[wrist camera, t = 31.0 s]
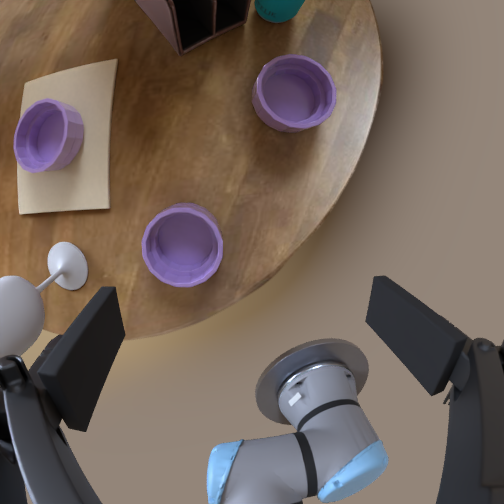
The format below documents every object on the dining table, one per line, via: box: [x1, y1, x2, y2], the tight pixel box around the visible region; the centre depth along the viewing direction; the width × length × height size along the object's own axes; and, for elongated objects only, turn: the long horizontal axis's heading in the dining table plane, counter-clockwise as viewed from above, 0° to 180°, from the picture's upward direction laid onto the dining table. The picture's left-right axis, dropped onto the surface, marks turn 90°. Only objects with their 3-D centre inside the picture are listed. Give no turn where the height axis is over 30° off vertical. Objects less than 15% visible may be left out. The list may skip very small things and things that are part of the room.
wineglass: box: [0, 242, 88, 358], centre depth 23 cm, size 8×8×21 cm
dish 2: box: [142, 203, 223, 287], centre depth 32 cm, size 9×9×5 cm
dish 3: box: [252, 54, 336, 133], centre depth 28 cm, size 9×9×5 cm
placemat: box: [17, 59, 118, 214], centre depth 28 cm, size 20×16×1 cm
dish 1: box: [14, 98, 84, 173], centre depth 25 cm, size 9×9×5 cm
